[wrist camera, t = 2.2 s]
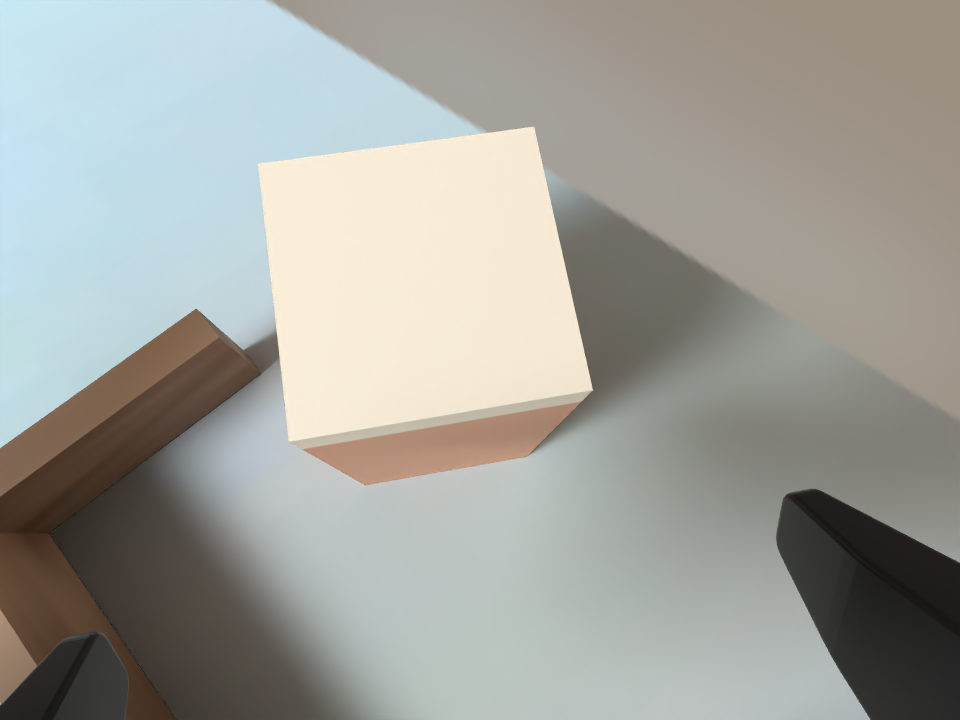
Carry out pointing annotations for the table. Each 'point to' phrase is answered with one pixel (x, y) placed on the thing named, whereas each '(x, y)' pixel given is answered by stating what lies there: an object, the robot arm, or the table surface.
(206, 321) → the walnut corner walls
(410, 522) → the table surface
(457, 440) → the pink tall block
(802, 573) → the robot arm
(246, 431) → the table surface
